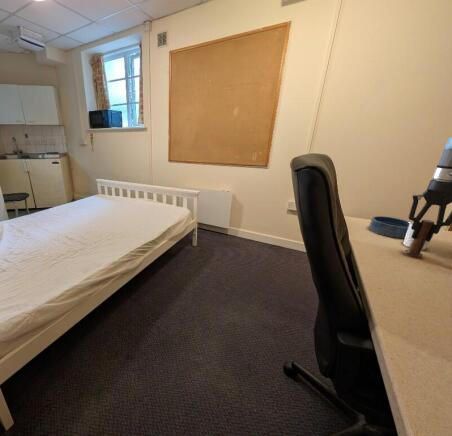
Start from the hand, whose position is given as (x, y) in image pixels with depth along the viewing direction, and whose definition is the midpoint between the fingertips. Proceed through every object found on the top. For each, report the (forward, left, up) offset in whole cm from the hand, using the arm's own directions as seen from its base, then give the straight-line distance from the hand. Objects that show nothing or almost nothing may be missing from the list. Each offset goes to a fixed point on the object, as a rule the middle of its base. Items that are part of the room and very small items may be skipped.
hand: (420, 238), depth 87 cm
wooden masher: (0, 0, -8) cm, 8 cm away
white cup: (-1, -12, -8) cm, 14 cm away
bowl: (+7, -25, -8) cm, 27 cm away
